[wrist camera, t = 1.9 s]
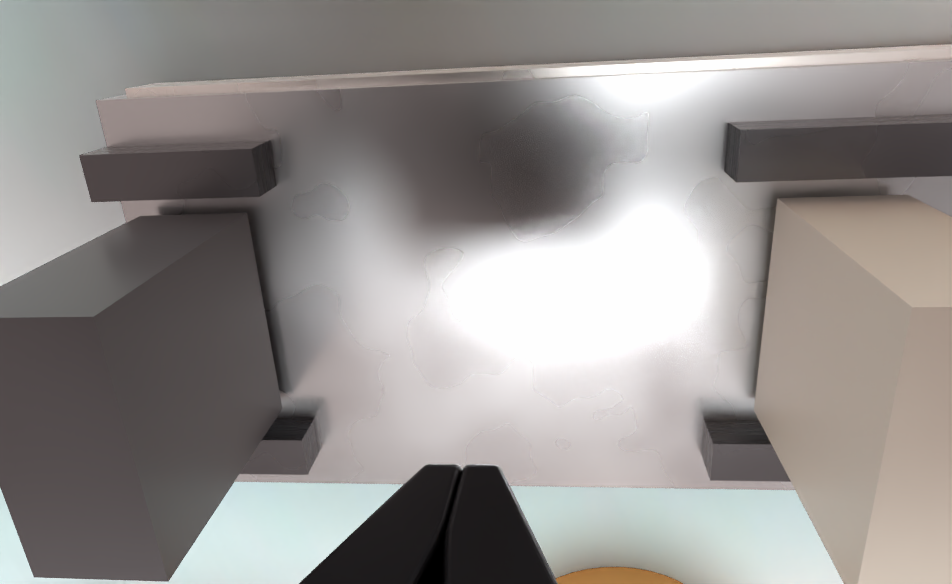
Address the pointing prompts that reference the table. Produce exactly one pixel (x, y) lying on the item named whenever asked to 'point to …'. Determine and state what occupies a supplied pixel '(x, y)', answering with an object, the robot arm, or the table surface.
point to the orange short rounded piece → (615, 576)
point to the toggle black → (132, 394)
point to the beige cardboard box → (864, 379)
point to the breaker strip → (527, 247)
